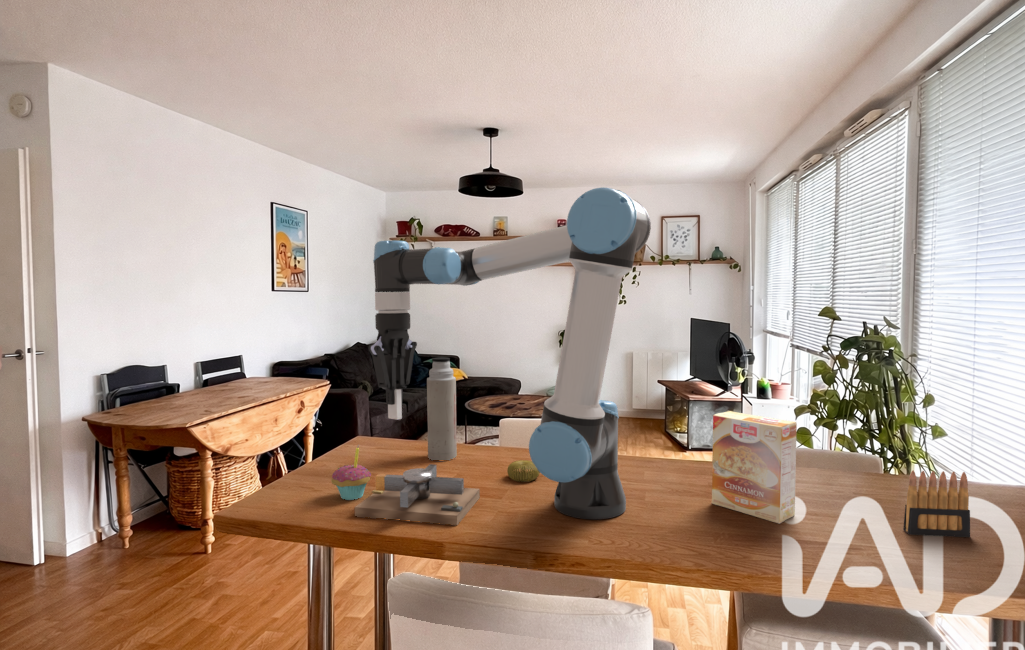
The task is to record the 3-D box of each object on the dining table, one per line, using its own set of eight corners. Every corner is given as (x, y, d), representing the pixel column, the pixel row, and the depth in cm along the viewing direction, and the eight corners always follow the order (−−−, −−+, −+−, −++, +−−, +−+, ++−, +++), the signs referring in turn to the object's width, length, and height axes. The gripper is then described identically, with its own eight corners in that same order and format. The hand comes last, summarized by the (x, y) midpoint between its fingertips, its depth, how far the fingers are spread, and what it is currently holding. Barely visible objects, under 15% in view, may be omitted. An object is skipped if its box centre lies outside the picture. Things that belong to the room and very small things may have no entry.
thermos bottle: (458, 453, 165) (457, 356, 164) (454, 461, 157) (453, 359, 156) (430, 453, 166) (429, 356, 164) (425, 461, 158) (424, 359, 156)
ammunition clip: (908, 534, 108) (910, 471, 108) (903, 530, 110) (904, 468, 109) (970, 537, 107) (973, 473, 106) (964, 533, 109) (966, 470, 108)
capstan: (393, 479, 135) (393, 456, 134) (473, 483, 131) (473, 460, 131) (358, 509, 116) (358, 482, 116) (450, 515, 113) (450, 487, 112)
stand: (479, 497, 129) (479, 481, 129) (457, 525, 114) (456, 507, 113) (386, 490, 134) (386, 475, 134) (352, 516, 118) (352, 499, 118)
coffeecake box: (710, 503, 125) (711, 414, 124) (727, 496, 129) (729, 410, 128) (779, 524, 113) (781, 426, 112) (796, 515, 118) (797, 421, 117)
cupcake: (377, 492, 133) (376, 440, 132) (358, 505, 125) (357, 450, 124) (344, 489, 135) (343, 438, 135) (323, 501, 127) (322, 447, 127)
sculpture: (517, 456, 148) (545, 461, 144) (517, 472, 148) (545, 477, 144) (501, 464, 141) (529, 469, 137) (501, 480, 141) (529, 486, 137)
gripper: (401, 311, 134) (403, 411, 135) (358, 312, 123) (360, 422, 124) (425, 311, 130) (427, 414, 131) (383, 312, 119) (385, 426, 120)
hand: (395, 418), depth 128 cm, fingers closed
